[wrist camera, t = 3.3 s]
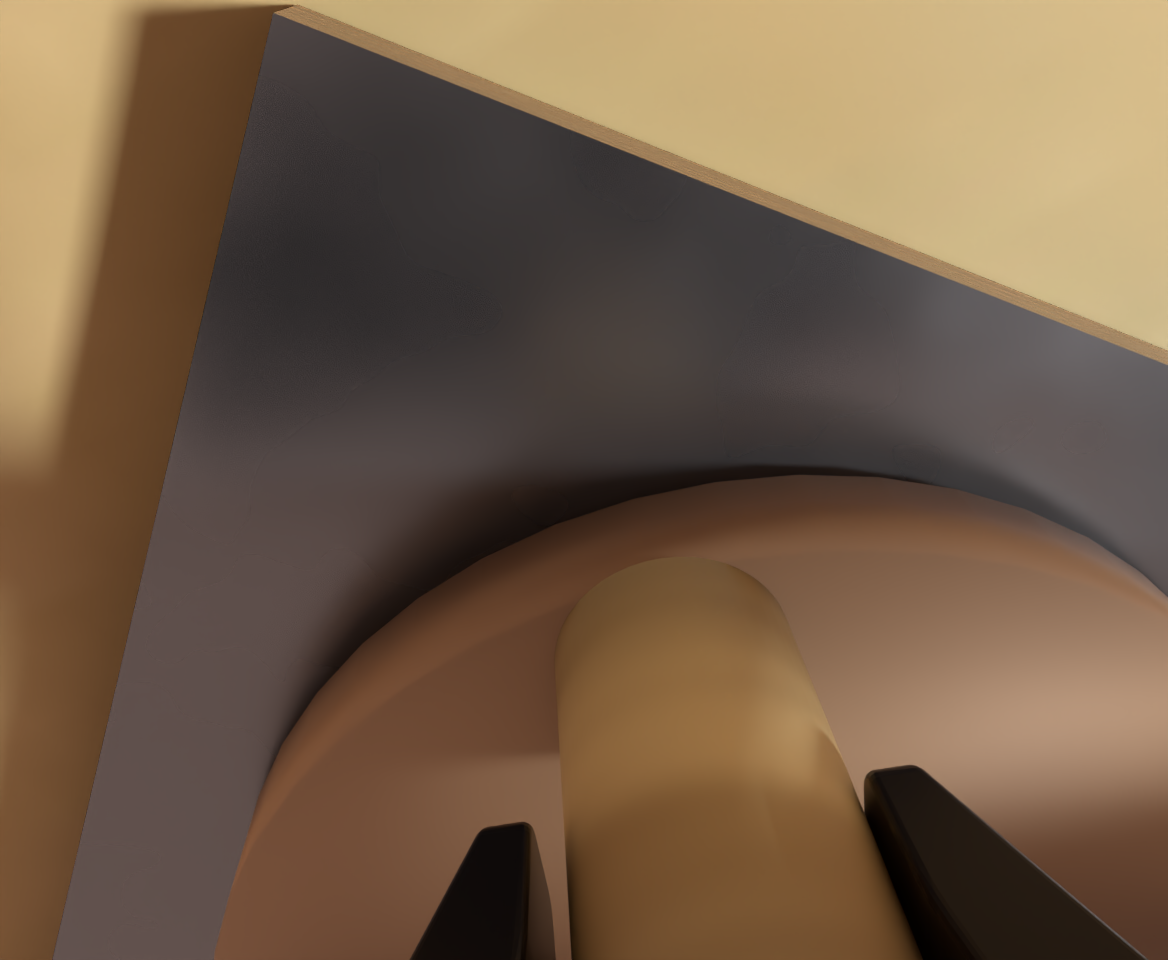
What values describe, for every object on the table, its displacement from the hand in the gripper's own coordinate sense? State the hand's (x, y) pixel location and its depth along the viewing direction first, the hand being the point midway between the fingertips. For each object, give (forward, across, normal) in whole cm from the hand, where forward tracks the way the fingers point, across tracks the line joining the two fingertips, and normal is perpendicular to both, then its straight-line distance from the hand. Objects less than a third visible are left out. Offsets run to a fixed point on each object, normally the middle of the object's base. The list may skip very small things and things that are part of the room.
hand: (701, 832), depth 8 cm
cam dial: (+4, -1, +6) cm, 7 cm away
